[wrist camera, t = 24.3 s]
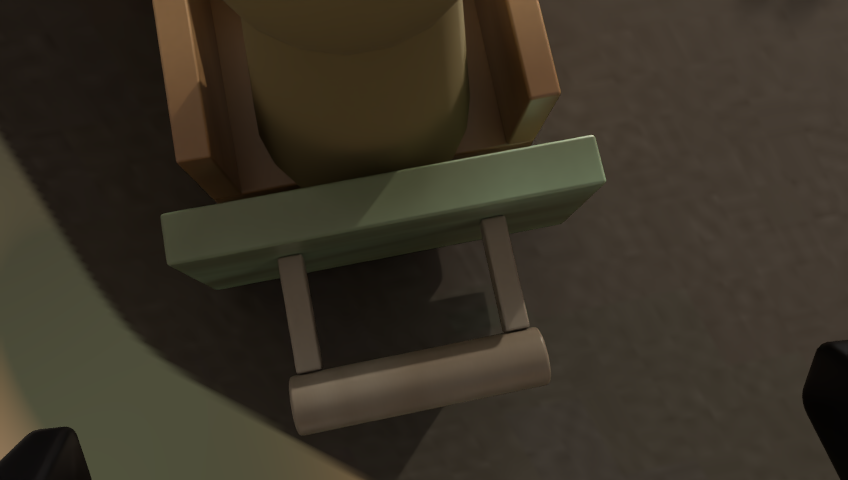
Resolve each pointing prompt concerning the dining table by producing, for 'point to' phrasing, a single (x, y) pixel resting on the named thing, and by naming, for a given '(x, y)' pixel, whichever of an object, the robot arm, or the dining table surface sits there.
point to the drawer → (374, 207)
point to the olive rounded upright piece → (356, 84)
